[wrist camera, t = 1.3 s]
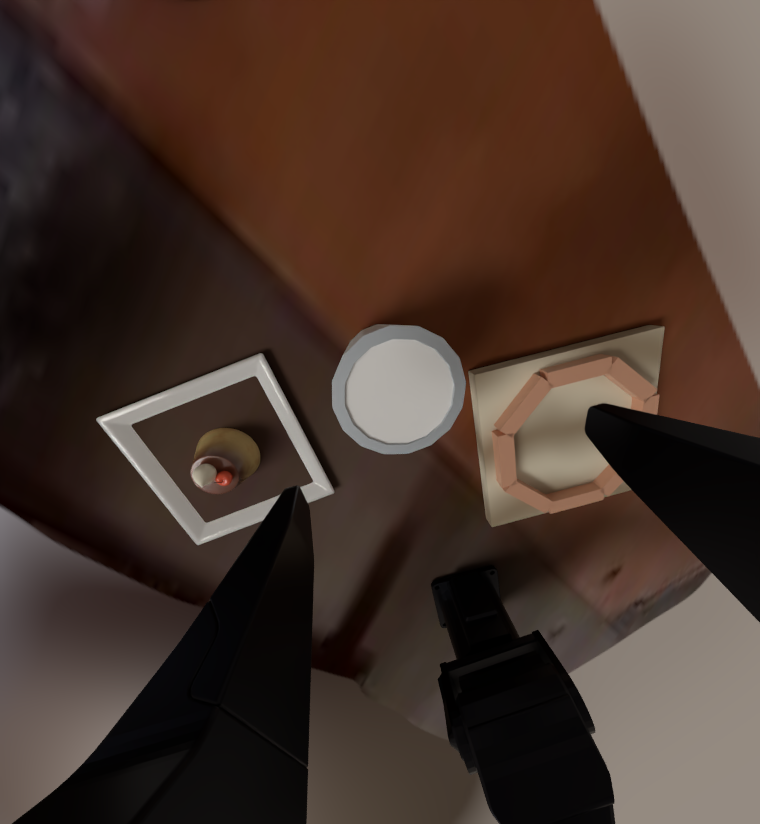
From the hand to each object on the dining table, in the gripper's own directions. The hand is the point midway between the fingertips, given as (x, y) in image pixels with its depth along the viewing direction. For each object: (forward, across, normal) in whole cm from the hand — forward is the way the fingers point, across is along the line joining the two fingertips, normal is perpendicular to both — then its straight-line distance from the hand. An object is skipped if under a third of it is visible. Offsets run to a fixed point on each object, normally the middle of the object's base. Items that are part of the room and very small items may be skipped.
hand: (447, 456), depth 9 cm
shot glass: (+14, 0, +2) cm, 14 cm away
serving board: (+12, -13, +11) cm, 21 cm away
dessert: (+14, +13, +6) cm, 20 cm away
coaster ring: (+10, -13, +11) cm, 20 cm away
